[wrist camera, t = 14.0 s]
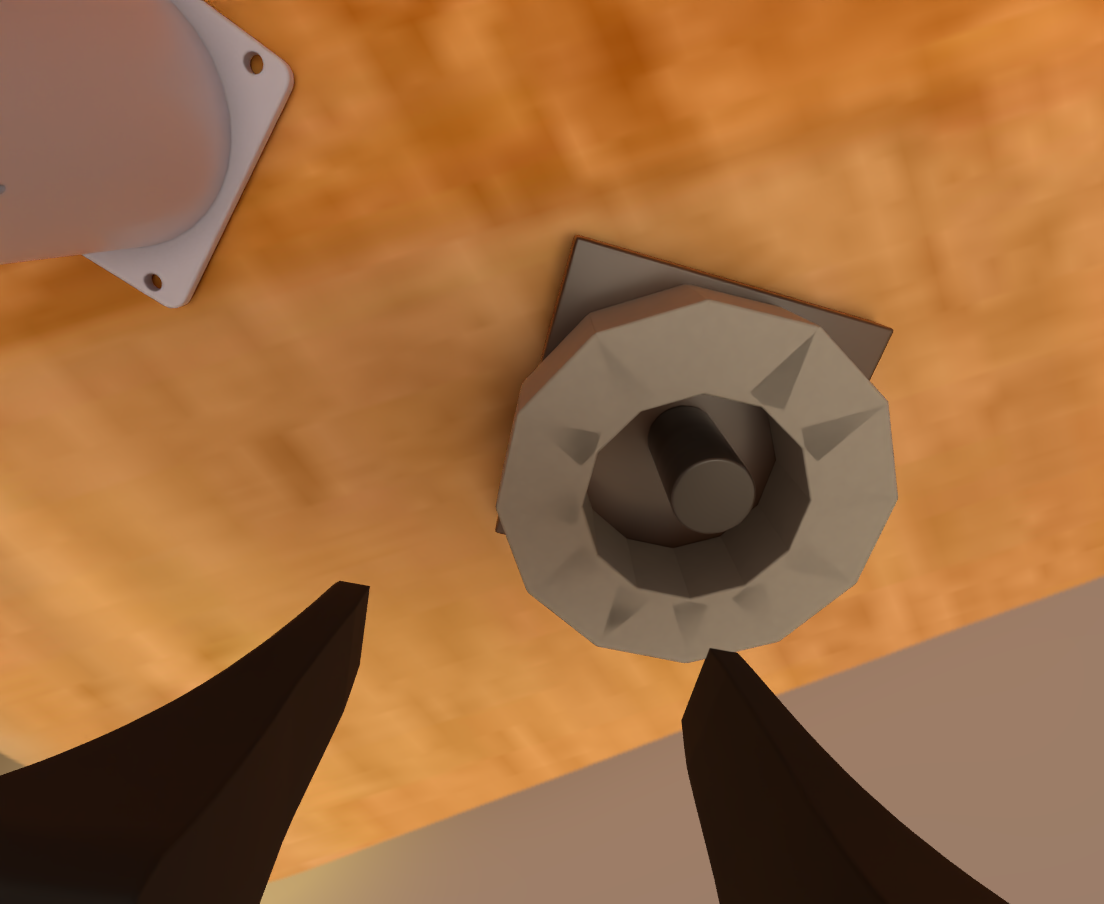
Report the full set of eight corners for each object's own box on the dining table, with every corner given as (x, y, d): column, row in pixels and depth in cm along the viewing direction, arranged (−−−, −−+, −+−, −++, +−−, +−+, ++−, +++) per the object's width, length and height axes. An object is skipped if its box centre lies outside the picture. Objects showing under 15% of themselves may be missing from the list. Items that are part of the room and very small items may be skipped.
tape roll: (461, 350, 19) (445, 377, 16) (824, 241, 18) (874, 250, 15) (563, 633, 23) (564, 693, 20) (865, 559, 22) (910, 612, 19)
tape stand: (497, 516, 23) (481, 609, 18) (574, 233, 19) (583, 247, 14) (755, 579, 24) (811, 684, 18) (876, 322, 20) (987, 365, 15)
